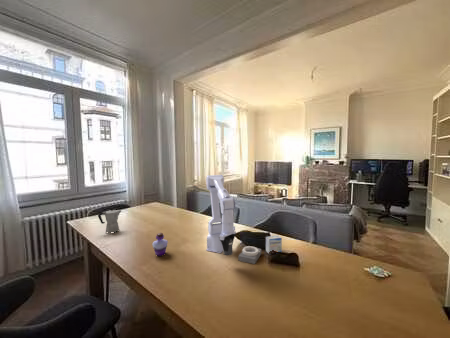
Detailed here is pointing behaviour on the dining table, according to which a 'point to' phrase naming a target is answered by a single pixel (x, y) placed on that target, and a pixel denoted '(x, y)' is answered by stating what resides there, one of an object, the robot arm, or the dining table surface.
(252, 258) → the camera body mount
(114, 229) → the coffeepot
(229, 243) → the lens
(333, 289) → the dining table surface
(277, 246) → the medicine box
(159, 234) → the potion bottle
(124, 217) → the dining table surface
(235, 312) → the dining table surface
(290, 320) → the dining table surface
